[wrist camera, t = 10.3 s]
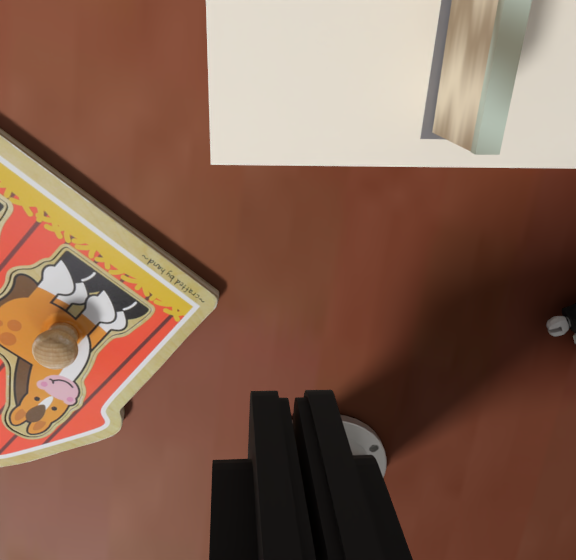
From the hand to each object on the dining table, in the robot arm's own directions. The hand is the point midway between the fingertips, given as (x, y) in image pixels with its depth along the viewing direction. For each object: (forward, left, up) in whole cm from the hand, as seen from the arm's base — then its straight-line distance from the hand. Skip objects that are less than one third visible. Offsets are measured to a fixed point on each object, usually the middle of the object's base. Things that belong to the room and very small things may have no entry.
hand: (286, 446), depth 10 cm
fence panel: (+8, -13, -25) cm, 29 cm away
